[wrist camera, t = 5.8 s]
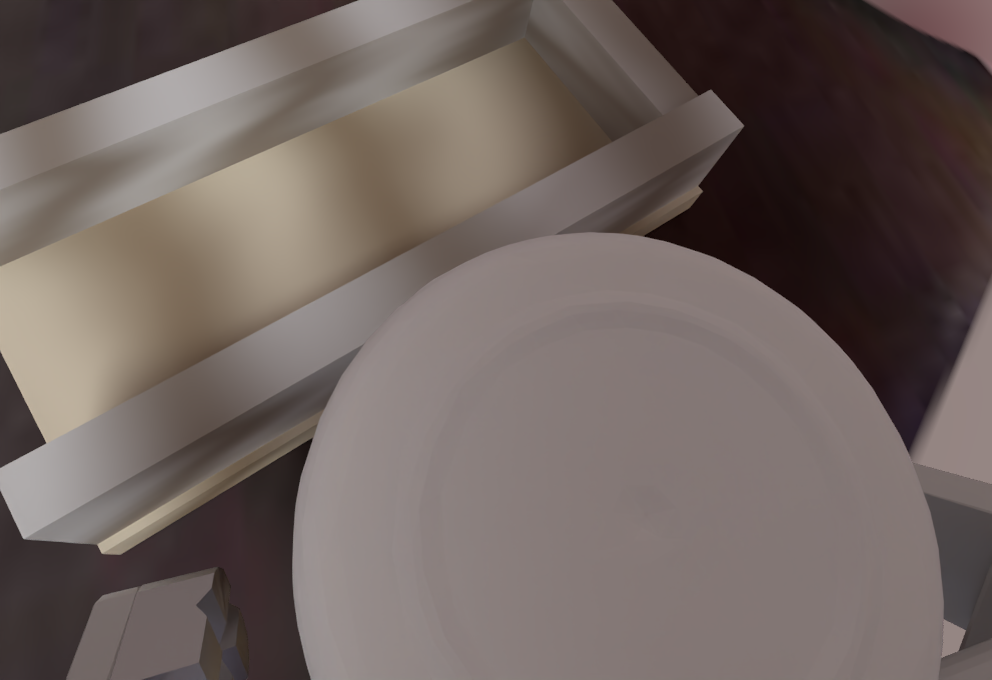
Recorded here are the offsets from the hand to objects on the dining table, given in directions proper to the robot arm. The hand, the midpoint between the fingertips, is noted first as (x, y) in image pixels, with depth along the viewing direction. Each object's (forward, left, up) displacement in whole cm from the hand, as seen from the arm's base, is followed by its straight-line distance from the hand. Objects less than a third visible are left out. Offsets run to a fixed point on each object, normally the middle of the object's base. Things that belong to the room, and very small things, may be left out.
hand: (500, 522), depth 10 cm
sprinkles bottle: (0, 0, -8) cm, 8 cm away
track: (+3, +10, -7) cm, 12 cm away
